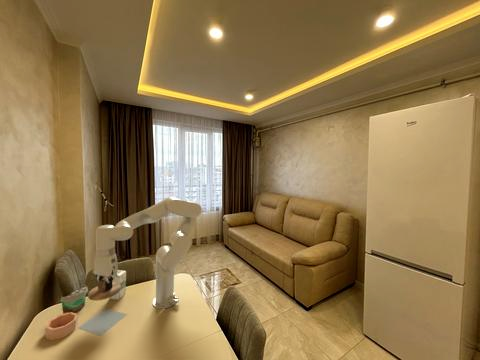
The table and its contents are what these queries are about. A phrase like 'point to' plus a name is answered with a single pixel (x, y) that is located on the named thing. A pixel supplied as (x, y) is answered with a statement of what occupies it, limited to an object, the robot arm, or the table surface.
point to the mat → (102, 321)
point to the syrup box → (122, 281)
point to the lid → (103, 290)
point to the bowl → (61, 326)
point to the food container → (74, 300)
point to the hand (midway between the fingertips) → (105, 288)
